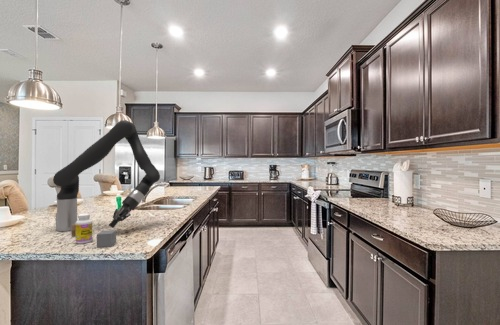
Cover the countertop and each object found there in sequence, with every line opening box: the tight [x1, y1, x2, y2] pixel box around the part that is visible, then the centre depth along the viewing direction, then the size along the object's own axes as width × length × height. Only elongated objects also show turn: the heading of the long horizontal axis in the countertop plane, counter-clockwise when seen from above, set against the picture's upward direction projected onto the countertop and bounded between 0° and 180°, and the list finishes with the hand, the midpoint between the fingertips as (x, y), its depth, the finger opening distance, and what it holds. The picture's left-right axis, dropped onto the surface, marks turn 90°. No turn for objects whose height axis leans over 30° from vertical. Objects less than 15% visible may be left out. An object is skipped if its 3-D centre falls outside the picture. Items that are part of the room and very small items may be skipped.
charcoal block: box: [96, 229, 117, 249], centre depth 114 cm, size 6×6×6 cm
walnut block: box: [71, 223, 76, 238], centre depth 130 cm, size 6×6×6 cm
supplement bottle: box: [75, 213, 93, 245], centre depth 118 cm, size 7×7×13 cm
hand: (110, 226), depth 128 cm, fingers closed
